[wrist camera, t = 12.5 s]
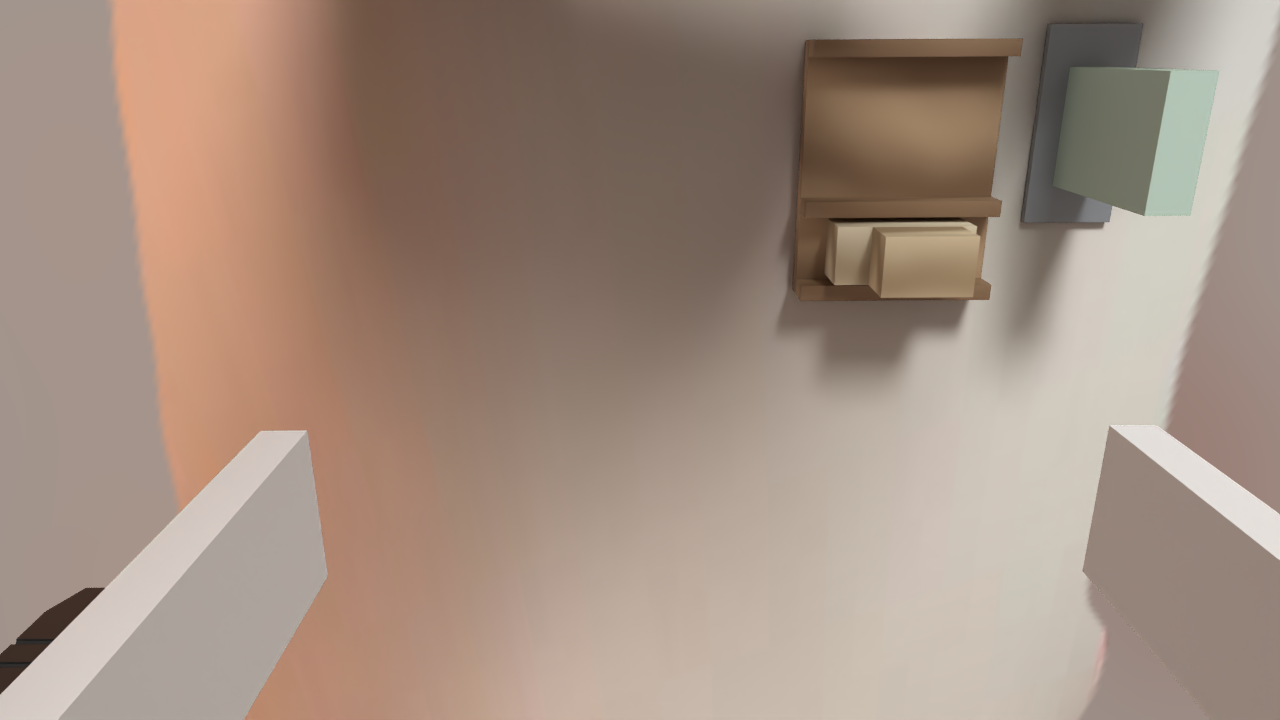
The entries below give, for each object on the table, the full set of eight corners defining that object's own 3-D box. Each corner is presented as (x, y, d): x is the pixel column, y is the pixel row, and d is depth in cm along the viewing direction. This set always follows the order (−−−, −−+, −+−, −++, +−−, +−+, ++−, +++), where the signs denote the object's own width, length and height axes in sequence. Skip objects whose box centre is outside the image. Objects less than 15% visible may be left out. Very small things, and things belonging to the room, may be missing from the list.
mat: (1048, 24, 45) (1051, 23, 44) (1138, 23, 45) (1143, 23, 44) (1020, 221, 48) (1024, 222, 48) (1105, 220, 48) (1109, 221, 48)
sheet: (1070, 67, 45) (1170, 71, 37) (1109, 66, 45) (1219, 70, 37) (1052, 186, 47) (1144, 215, 39) (1090, 185, 47) (1190, 215, 39)
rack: (805, 40, 45) (815, 39, 43) (1002, 39, 45) (1023, 38, 43) (792, 288, 49) (800, 300, 47) (972, 287, 49) (989, 299, 47)
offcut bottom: (828, 218, 47) (838, 227, 45) (959, 217, 47) (977, 226, 45) (824, 273, 48) (834, 285, 46) (953, 272, 48) (970, 284, 46)
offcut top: (872, 227, 45) (886, 237, 42) (962, 226, 45) (980, 236, 42) (868, 285, 46) (880, 297, 43) (955, 284, 46) (973, 297, 43)
